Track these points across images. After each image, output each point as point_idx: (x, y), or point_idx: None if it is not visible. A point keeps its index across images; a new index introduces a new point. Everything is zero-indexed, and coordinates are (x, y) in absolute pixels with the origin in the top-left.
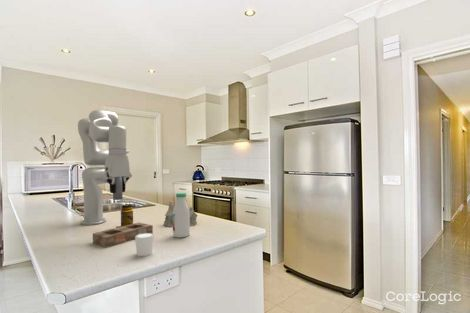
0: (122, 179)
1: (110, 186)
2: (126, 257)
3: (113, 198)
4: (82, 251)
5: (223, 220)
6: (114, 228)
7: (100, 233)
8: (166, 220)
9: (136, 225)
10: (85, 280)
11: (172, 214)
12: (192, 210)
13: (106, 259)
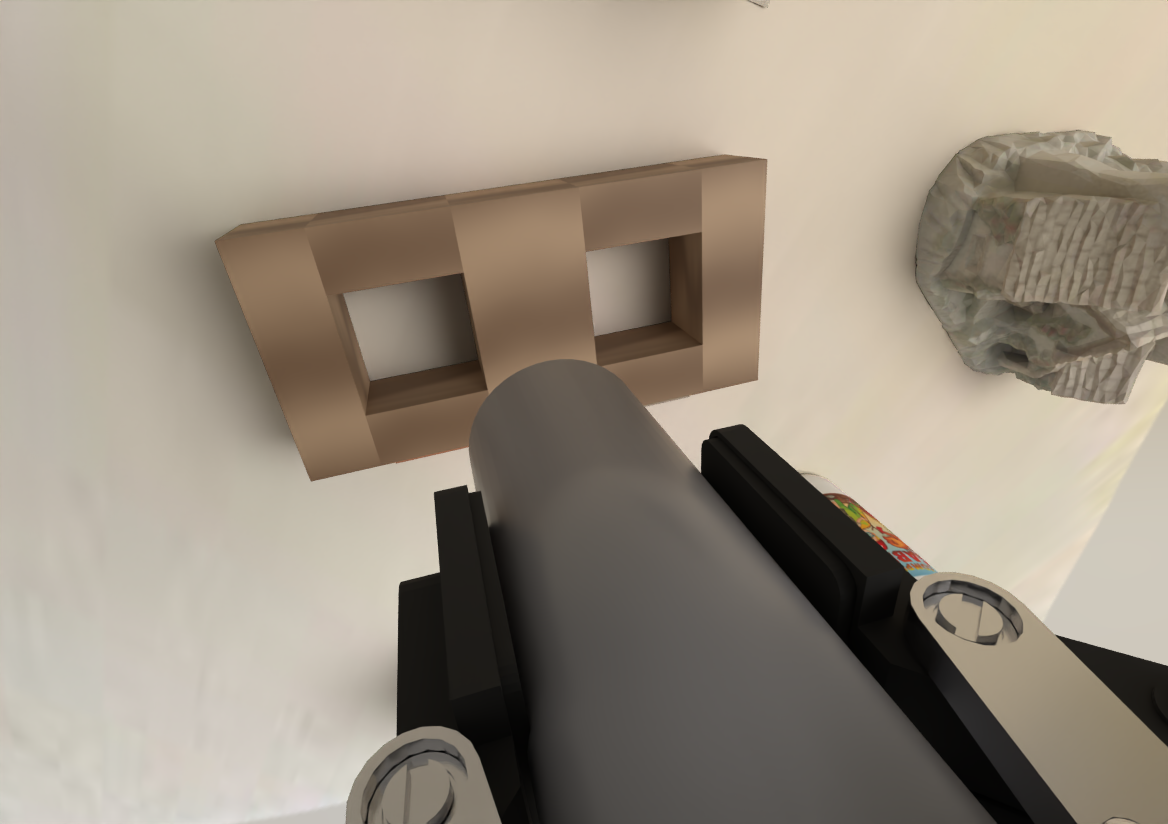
0: (1044, 739)
1: (410, 723)
2: (375, 662)
3: (472, 471)
4: (126, 410)
5: (1156, 404)
6: (475, 211)
7: (293, 304)
8: (979, 215)
9: (696, 232)
10: (126, 804)
11: (1032, 300)
12: (1160, 359)
13: (268, 638)
